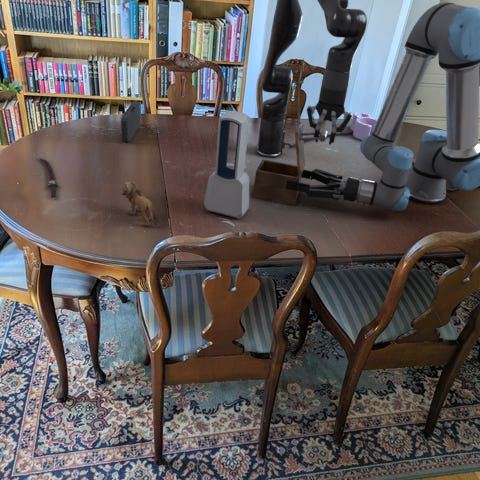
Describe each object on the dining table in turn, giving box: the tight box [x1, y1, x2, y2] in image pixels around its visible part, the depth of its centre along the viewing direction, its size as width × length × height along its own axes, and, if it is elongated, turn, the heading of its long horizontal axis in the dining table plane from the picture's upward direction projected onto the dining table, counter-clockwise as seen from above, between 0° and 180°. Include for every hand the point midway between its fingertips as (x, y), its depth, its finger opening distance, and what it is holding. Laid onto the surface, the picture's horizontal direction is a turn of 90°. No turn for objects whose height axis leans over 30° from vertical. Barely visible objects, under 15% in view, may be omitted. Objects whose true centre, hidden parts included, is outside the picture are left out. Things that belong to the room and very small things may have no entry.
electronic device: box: [203, 110, 251, 220], centre depth 135 cm, size 12×8×30 cm, turn 71°
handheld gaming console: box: [120, 101, 141, 143], centre depth 188 cm, size 23×3×10 cm, turn 178°
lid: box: [294, 121, 329, 177], centre depth 145 cm, size 14×10×9 cm
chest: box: [252, 158, 303, 206], centre depth 153 cm, size 14×10×10 cm
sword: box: [40, 158, 59, 198], centre depth 151 cm, size 31×3×1 cm, turn 26°
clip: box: [349, 112, 378, 141], centre depth 214 cm, size 20×12×7 cm, turn 11°
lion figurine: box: [119, 181, 159, 227], centre depth 134 cm, size 15×5×9 cm, turn 50°
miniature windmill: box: [285, 58, 305, 127], centre depth 208 cm, size 9×8×30 cm
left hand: (323, 142), depth 143 cm, fingers open, 3 cm apart
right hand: (289, 177), depth 152 cm, fingers closed on chest, 10 cm apart
